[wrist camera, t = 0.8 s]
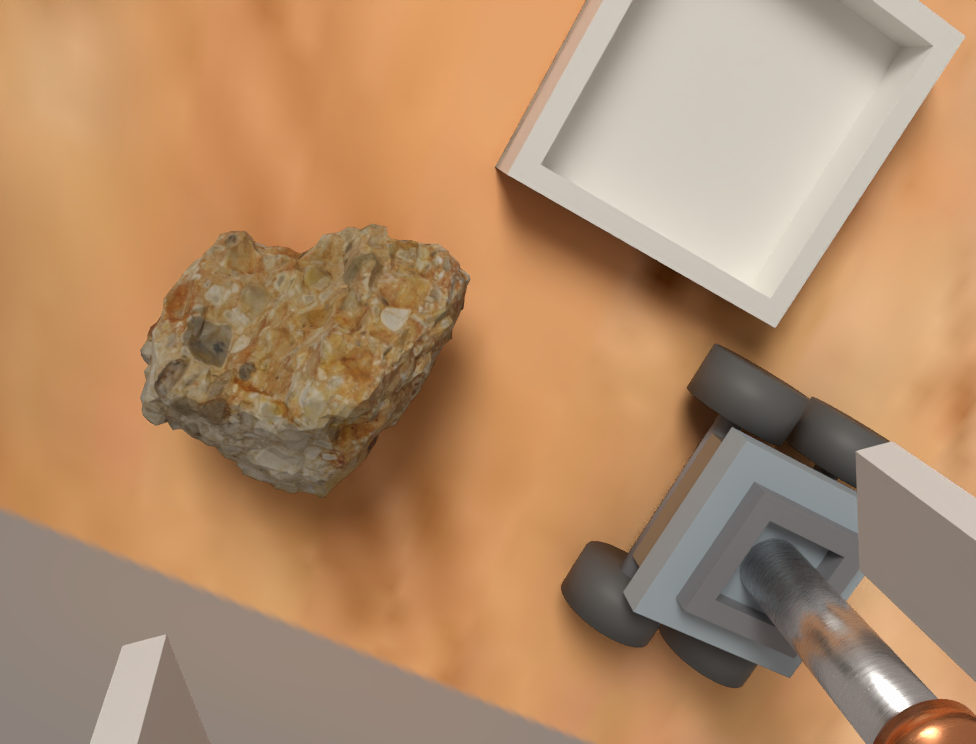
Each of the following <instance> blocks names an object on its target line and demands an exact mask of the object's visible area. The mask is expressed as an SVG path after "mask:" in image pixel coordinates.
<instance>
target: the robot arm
mask: <svg viewBox="0 0 976 744" xmlns="http://www.w3.org/2000/svg"><path fill="white" fill-rule="evenodd" d="M855 452H856V482H857V511H858V541H859V570H860V571H861V572H862V573H863V574H864V575H865V576H866V577H867V578H868V579H869V580H870V581H871V582H872V583H873V584H874V585H875V586H876V587H877V588H878V589H879V590H880V591H882V592H883V593H884V594H885V595H886V596H887V597H888V598H889V599H890V600H891V601H892V602H893V603H894V604H895V605H896V606H897V607H898V608H899V609H900V610H901V611H902V612H903V613H904V614H905V615H906V616H908V617H909V618H910V619H911V620H912V621H913V622H914V623H915V624H916V625H917V626H918V627H919V628H920V629H921V630H922V631H923V632H924V633H925V634H926V635H927V636H928V637H929V638H930V639H931V640H932V641H934V642H935V643H936V644H937V645H938V646H939V647H940V648H941V649H942V650H943V651H944V652H945V653H946V654H947V655H948V656H949V657H950V658H951V659H952V660H953V661H954V662H955V663H956V664H957V665H958V666H960V667H961V668H962V669H963V670H964V671H965V672H966V673H967V674H968V675H969V676H970V677H971V678H972V679H973V680H974V681H975V682H976V498H975V497H974V496H972V495H971V494H969V493H968V492H966V491H965V490H963V489H962V488H960V487H959V486H957V485H956V484H954V483H953V482H952V481H950V480H949V479H947V478H946V477H944V476H943V475H941V474H940V473H938V472H937V471H935V470H934V469H932V468H931V467H929V466H928V465H927V464H925V463H924V462H922V461H921V460H919V459H918V458H916V457H915V456H913V455H912V454H910V453H909V452H907V451H906V450H904V449H903V448H902V447H900V446H899V445H897V444H896V443H894V442H893V441H892V442H888V443H884V444H880V445H876V446H873V447H869V448H865V449H861V450H858V451H855ZM90 744H211V743H210V741H209V738H208V736H207V733H206V731H205V729H204V726H203V724H202V721H201V719H200V716H199V714H198V711H197V709H196V706H195V704H194V701H193V699H192V696H191V694H190V691H189V689H188V686H187V684H186V681H185V679H184V676H183V675H182V672H181V669H180V666H179V664H178V662H177V659H176V657H175V654H174V652H173V649H172V647H171V644H170V642H169V639H168V637H167V635H166V634H165V635H162V636H158V637H154V638H151V639H147V640H143V641H139V642H135V643H132V644H128V645H124V646H122V649H121V652H120V655H119V658H118V661H117V664H116V667H115V670H114V673H113V676H112V679H111V682H110V685H109V688H108V691H107V694H106V697H105V700H104V703H103V706H102V709H101V712H100V715H99V718H98V721H97V724H96V727H95V730H94V733H93V736H92V739H91V742H90Z"/></svg>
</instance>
